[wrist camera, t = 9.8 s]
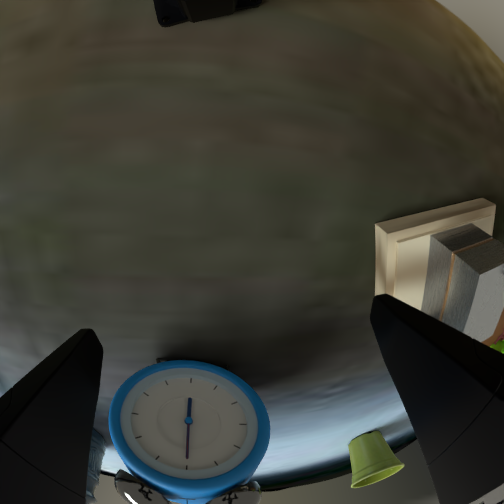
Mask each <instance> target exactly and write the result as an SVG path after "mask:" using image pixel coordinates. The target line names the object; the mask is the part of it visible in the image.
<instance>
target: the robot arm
mask: <svg viewBox="0 0 504 504" xmlns="http://www.w3.org/2000/svg"><path fill="white" fill-rule="evenodd" d="M153 1H154V6H155V10H156V15H157V19H158V22H159V24H160V25H161V26H162V27H170V26H173V25H176V24H179V23H183V22H187V21H190V22H193V23H195V22H199V21H203V20H207V19H211V18H216V17H220V16H225V15H231V14H233V12H234V11H236V10H242V9H248V8H255V7H258V6H259V5H260V4H261V2H262V0H257V2H255V3H254V2H251V1H250V0H153ZM165 18H170V20H169V21H168V22H163V20H164V19H165ZM370 321H371V325H372V327H373V330H374V333H375V336H376V339H377V342H378V345H379V348H380V350H381V353H382V356H383V359H384V362H385V364H386V366H387V369H388V371H389V373H390V375H391V377H392V380H393V382H394V384H395V386H396V389H397V391H398V393H399V395H400V398H401V400H402V402H403V405H404V407H405V409H406V412H407V414H408V417H409V419H410V422H411V424H412V426H413V429H414V431H415V434H416V437H417V439H418V442H419V444H420V447H421V450H422V452H423V455H424V458H425V460H426V463H427V465H428V469H429V472H430V475H431V478H432V481H433V484H434V487H435V490H436V493H437V496H438V499H439V503H440V504H469V503H471V502H473V501H475V500H477V499H479V498H480V497H482V499H483V502H481V503H480V504H504V353H502V352H499V351H497V350H495V349H493V348H491V347H489V346H487V345H485V344H483V343H481V342H479V341H478V340H476V339H474V338H473V339H472V337H470V336H468V335H466V334H464V333H463V332H461V331H459V330H457V329H455V328H453V327H451V326H449V325H447V324H445V323H444V322H442V321H440V320H438V319H436V318H434V317H432V316H430V315H428V314H426V313H424V312H422V311H420V310H418V309H416V308H414V307H413V306H411V305H409V304H407V303H405V302H403V301H401V300H399V299H397V298H395V297H393V296H391V295H389V294H386V293H384V294H379V295H376V296H375V297H374V298H373V303H372V308H371V314H370ZM102 360H103V347H102V345H101V343H100V341H99V339H98V338H97V336H96V334H95V332H94V331H93V330H92V329H80V330H79V331H78V332H77V333H75V334H74V335H73V336H72V337H70V338H69V339H68V340H67V341H66V342H64V343H63V344H62V345H61V346H60V347H58V348H57V349H56V350H55V351H53V352H52V353H51V354H50V355H49V356H48V357H46V358H45V359H44V360H43V361H42V362H40V363H39V364H38V365H37V366H36V367H35V368H33V369H32V370H31V371H30V372H29V373H28V374H26V375H25V376H24V377H23V378H22V379H21V380H20V381H18V382H17V383H16V384H15V385H14V386H13V388H10V389H9V390H8V391H7V392H6V393H5V394H4V395H3V396H1V397H0V504H86V487H87V474H88V463H89V454H90V445H91V438H92V431H93V424H94V418H95V412H96V406H97V401H98V395H99V388H100V378H101V369H102Z"/></svg>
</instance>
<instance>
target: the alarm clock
mask: <svg viewBox="0 0 504 504" xmlns="http://www.w3.org/2000/svg"><path fill="white" fill-rule="evenodd" d="M156 361H157V364H153V365H151V366H148V367H146V368H144V369H142V370H140V371H138V372H136V373H135V374H133V375H132V376H131V377H129V378H128V379H127V380H126V381H125V382H124V383H123V384H122V385H121V386H120V388H119V389H118V390H117V392H116V394H115V395H114V398H113V400H112V402H111V406H110V410H109V419H108V420H109V431H110V435H111V439H112V442H113V444H114V446H115V448H116V450H117V452H118V454H119V455H120V457H121V459H122V460H123V462H124V464H125V465H126V467H127V468H128V470H129V472H130V473H131V474H132V475H131V474H129V473H127V472H126V471H124V470H121V469H120V470H119V471H118V472H117V474H116V475H115V479H114V480H115V487H116V490H117V492H118V494H119V495H120V496H121V498H122V499H123V500H125V501H126V502H127V503H128V504H172V503H171V502H170V501H172V502H177V503H182V504H259V502H260V500H261V497H262V491H261V488H260V486H259V485H258V483H257V482H256V481H254V482H249V483H247V482H248V481H249V480H250V478H251V477H252V475H253V474H254V472H255V470H256V469H257V467H258V465H259V464H260V462H261V460H262V458H263V457H264V455H265V453H266V450H267V448H268V444H269V439H270V421H269V417H268V413H267V410H266V408H265V406H264V404H263V402H262V400H261V399H260V397H259V396H258V394H257V393H256V392H255V391H254V390H253V388H251V387H250V386H249V385H248V384H247V383H246V382H245V381H244V380H242V379H241V378H240V377H238V376H237V375H235V374H233V373H232V372H230V371H228V369H229V366H228V365H227V366H226V367H225V368H224V369H223V368H221V367H219V366H216V365H213V364H209V363H205V362H200V361H193V360H172V361H165V362H160V360H159V359H156Z"/></svg>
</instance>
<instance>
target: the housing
mask: <svg viewBox="0 0 504 504" xmlns="http://www.w3.org/2000/svg"><path fill="white" fill-rule="evenodd" d="M492 238H493V237H492V236H491V235H489V234H488V233H486V232H485V231H483V230H482V229H480V228H478V227H477V226H475V225H474V224H472V223H470V224H467V225H463V226H460V227H457V228H453V229H450V230H446V231H443V232H440V233H436V234H433V235H430V247H429V257H428V266H427V274H426V282H425V288H424V295H423V301H422V307H421V311H422V312H424V313H426V314H428V315H430V316H432V317H434V318H436V319H438V320H440V321H442V322H444V323H445V324H447V325H449V326H451V327H453V328H455V329H457V330H459V331H461V332H463V333H464V334H466V335H468V336H470V337H472V339H473V338H474V339H476V340H478V341H479V342H482V341H484V340H486V339H487V338H489V337H491V336H492V335H493V333H494V331H495V329H496V326H497V324H498V321H499V319H500V316H501V313H502V311H503V308H504V244H502V243H501V242H499V241H498V240H497V239H495V240H494V239H492Z"/></svg>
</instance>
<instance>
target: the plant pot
mask: <svg viewBox="0 0 504 504" xmlns="http://www.w3.org/2000/svg"><path fill="white" fill-rule="evenodd" d="M348 447H349V453H350V459H351V466H352V473H353V477H352V484H351V488H358V487H362V486H366V485H370V484H372V483H375V482H377V481H380V480H382V479H385V478H387V477H389V476H391V475H393V474H394V473H396V472H398V471H399V470H400V469H402V468H403V467H404V464H403V463H401V462H400V461H399V459H398V458H396V457H395V455H394V454H393V452H392V451H391V449H390V448H389V446H388V444H387V443H386V441H385V439H384V438H383V436H382V434H381V433H380V432H379V431H373V432H372V433H370V434H363V435H360V436H359V437H357V438H355V439H353V440H352V441H351V442H350V445H348Z"/></svg>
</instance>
